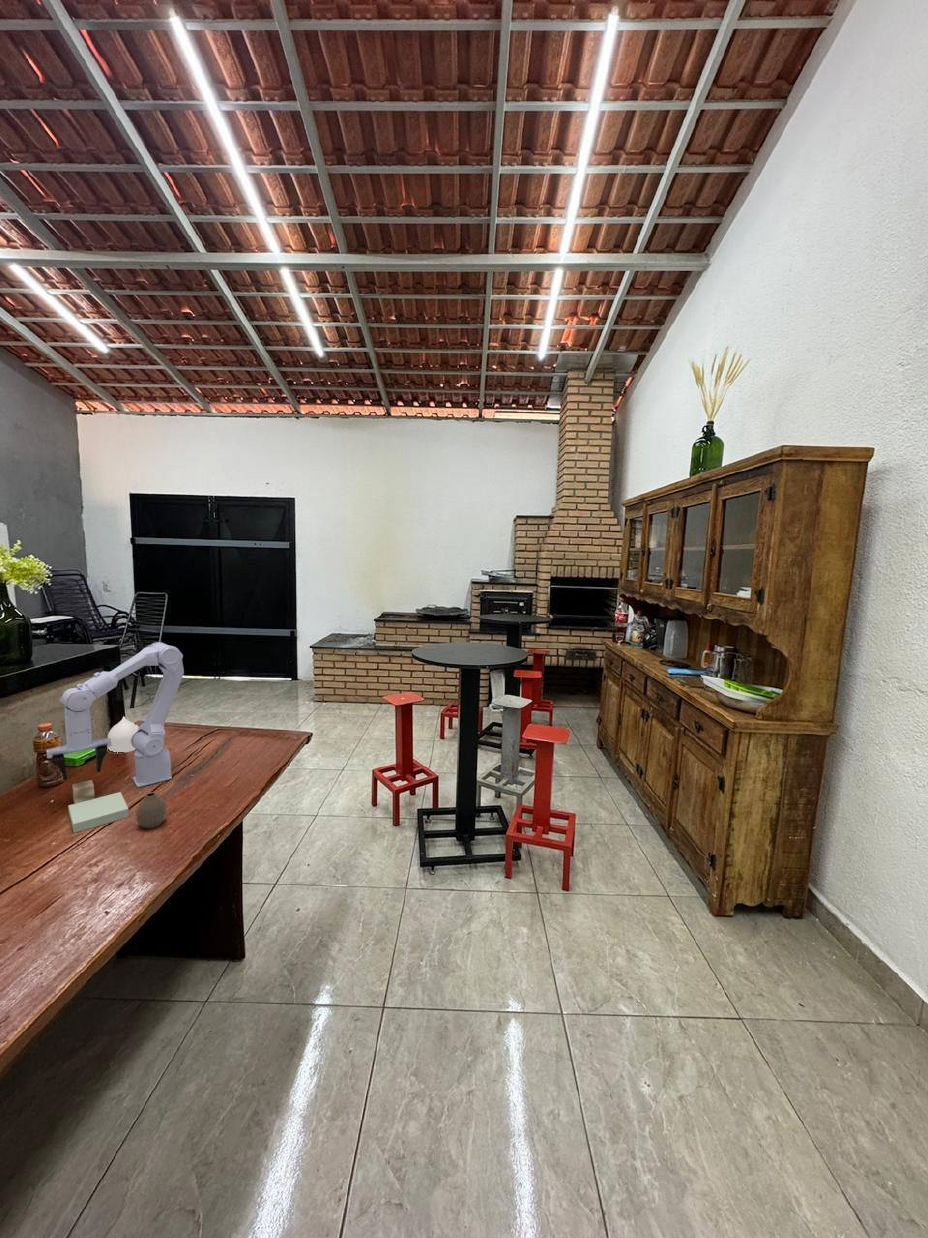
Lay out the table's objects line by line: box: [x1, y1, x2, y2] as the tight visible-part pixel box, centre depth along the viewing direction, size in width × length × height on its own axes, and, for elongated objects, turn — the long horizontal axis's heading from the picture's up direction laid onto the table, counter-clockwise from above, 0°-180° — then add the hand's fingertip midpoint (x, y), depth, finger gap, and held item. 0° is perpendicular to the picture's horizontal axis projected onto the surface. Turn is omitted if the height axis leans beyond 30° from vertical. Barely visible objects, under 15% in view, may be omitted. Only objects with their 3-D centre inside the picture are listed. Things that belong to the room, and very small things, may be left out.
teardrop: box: [107, 716, 139, 754], centre depth 179 cm, size 11×11×12 cm
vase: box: [135, 791, 168, 829], centre depth 132 cm, size 7×7×9 cm
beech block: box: [71, 779, 96, 804], centre depth 142 cm, size 4×4×5 cm
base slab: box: [67, 791, 130, 834], centre depth 135 cm, size 12×12×2 cm
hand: (82, 774), depth 142 cm, fingers open, 7 cm apart
